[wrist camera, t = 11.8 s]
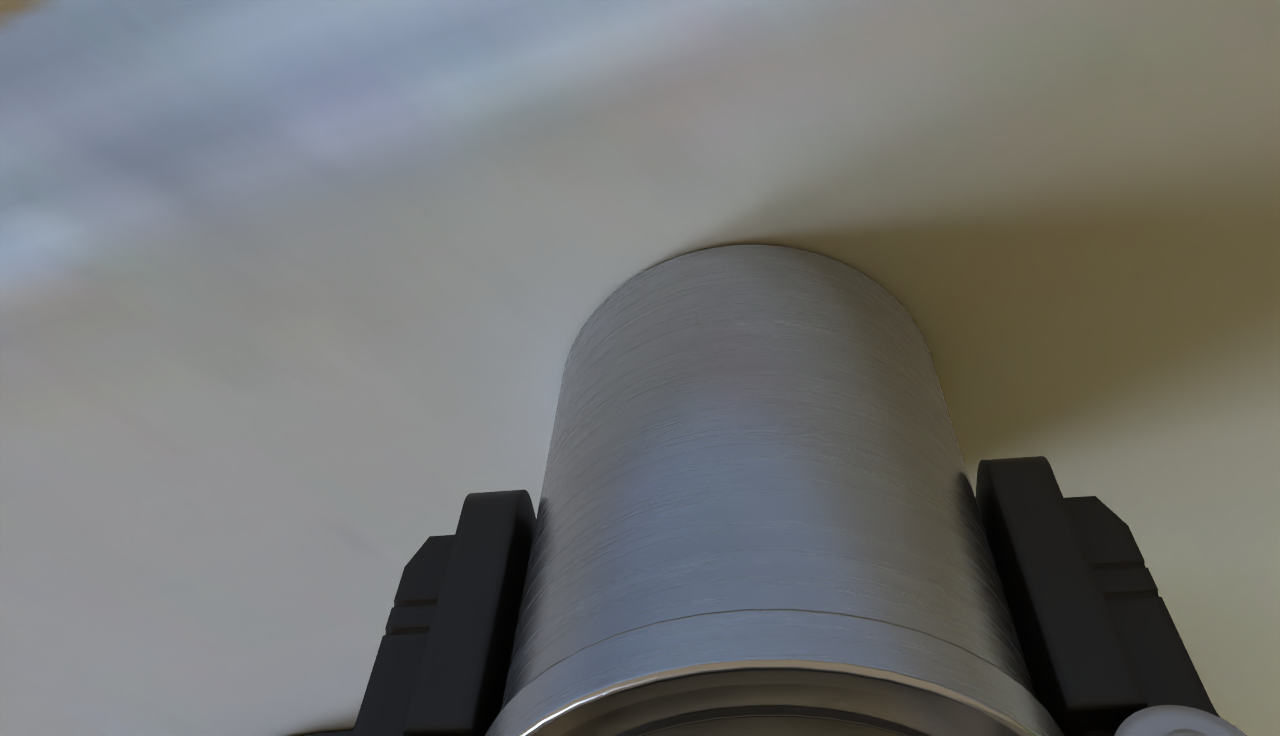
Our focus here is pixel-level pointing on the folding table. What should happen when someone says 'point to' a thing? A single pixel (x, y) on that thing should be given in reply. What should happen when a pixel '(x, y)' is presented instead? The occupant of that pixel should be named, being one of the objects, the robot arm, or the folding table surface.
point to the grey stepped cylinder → (333, 733)
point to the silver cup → (760, 522)
